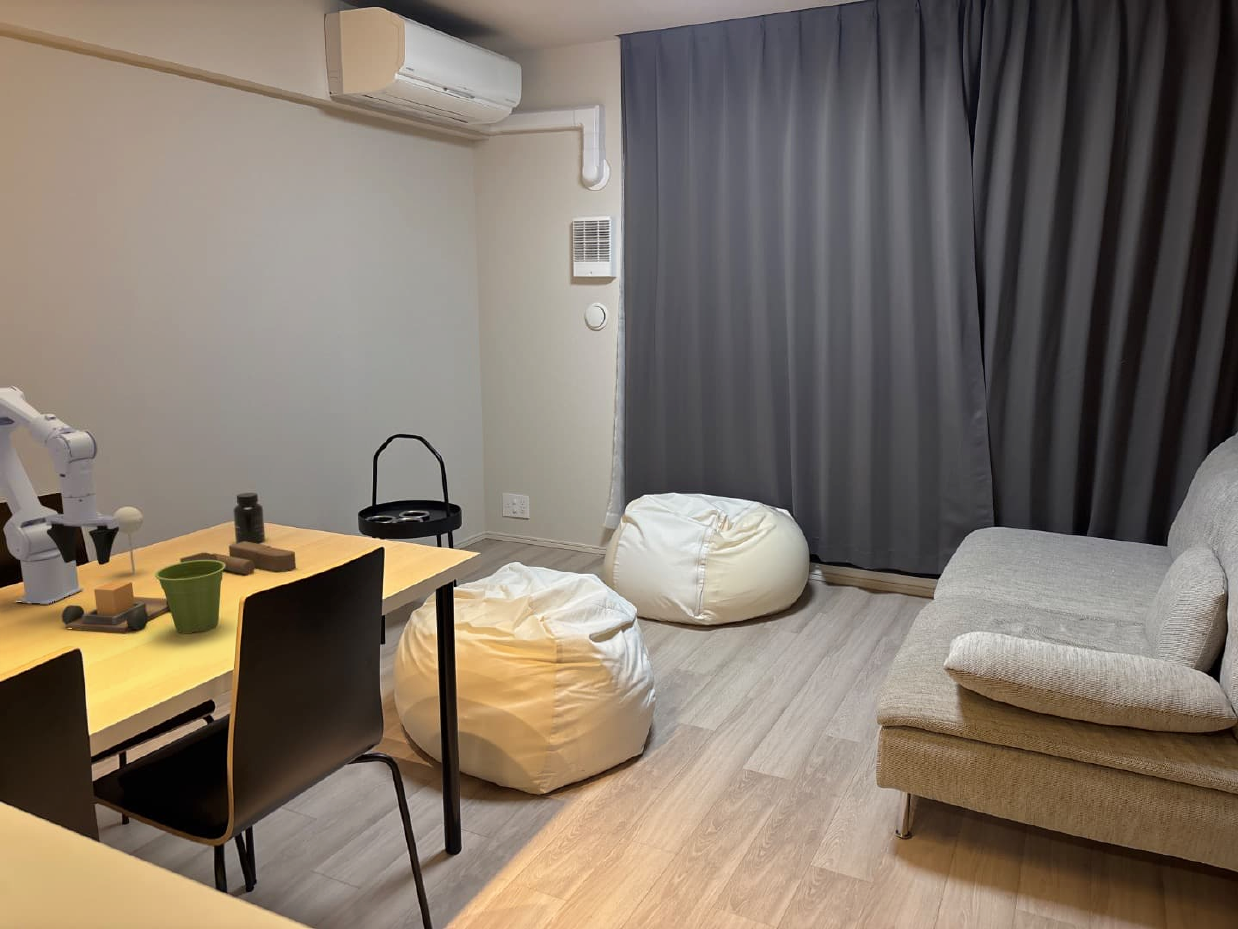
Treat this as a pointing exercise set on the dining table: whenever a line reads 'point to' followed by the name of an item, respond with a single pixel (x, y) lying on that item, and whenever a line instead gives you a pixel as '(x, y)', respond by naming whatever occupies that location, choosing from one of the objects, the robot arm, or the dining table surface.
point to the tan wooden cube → (114, 598)
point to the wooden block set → (251, 558)
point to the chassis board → (119, 623)
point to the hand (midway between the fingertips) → (87, 562)
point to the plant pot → (193, 593)
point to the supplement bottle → (248, 519)
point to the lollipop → (129, 524)
